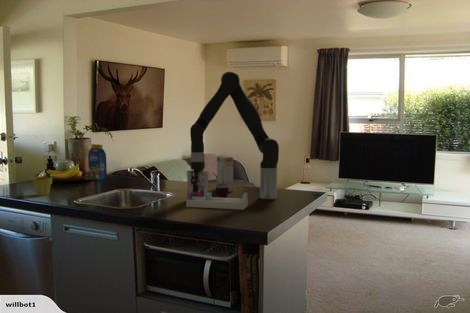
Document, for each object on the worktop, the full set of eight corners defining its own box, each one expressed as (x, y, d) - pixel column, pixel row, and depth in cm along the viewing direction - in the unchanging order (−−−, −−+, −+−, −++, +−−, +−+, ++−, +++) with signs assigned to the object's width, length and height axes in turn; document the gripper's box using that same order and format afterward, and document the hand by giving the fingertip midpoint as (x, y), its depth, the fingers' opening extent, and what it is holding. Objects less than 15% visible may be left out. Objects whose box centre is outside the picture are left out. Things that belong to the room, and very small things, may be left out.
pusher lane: (192, 202, 238) (192, 189, 237) (247, 205, 230) (247, 192, 230) (186, 206, 228) (186, 193, 228) (243, 209, 221) (243, 195, 221)
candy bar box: (187, 200, 244) (186, 170, 242) (192, 198, 248) (192, 169, 247) (203, 202, 238) (203, 172, 237) (209, 201, 242) (208, 171, 241)
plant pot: (56, 193, 264) (55, 177, 263) (42, 196, 255) (41, 179, 254) (43, 192, 269) (43, 176, 268) (29, 195, 259) (28, 178, 258)
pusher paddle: (209, 201, 234) (209, 192, 233) (226, 202, 232) (226, 193, 231) (205, 204, 227) (205, 194, 227) (222, 205, 225) (222, 195, 224)
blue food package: (96, 178, 324) (94, 143, 321) (107, 179, 317) (105, 144, 314) (88, 179, 319) (87, 144, 316) (99, 180, 312) (98, 145, 309)
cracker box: (233, 191, 269) (233, 157, 267) (224, 192, 267) (224, 157, 265) (225, 188, 282) (225, 155, 280) (216, 188, 280) (216, 155, 278)
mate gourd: (231, 198, 250) (231, 171, 248) (222, 200, 243) (222, 173, 242) (220, 196, 254) (220, 170, 252) (211, 199, 247) (211, 172, 246)
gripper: (200, 162, 233) (200, 192, 235) (208, 159, 247) (208, 188, 249) (186, 161, 235) (186, 192, 237) (195, 158, 249) (195, 187, 250)
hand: (197, 190), depth 243 cm, fingers open, 8 cm apart
